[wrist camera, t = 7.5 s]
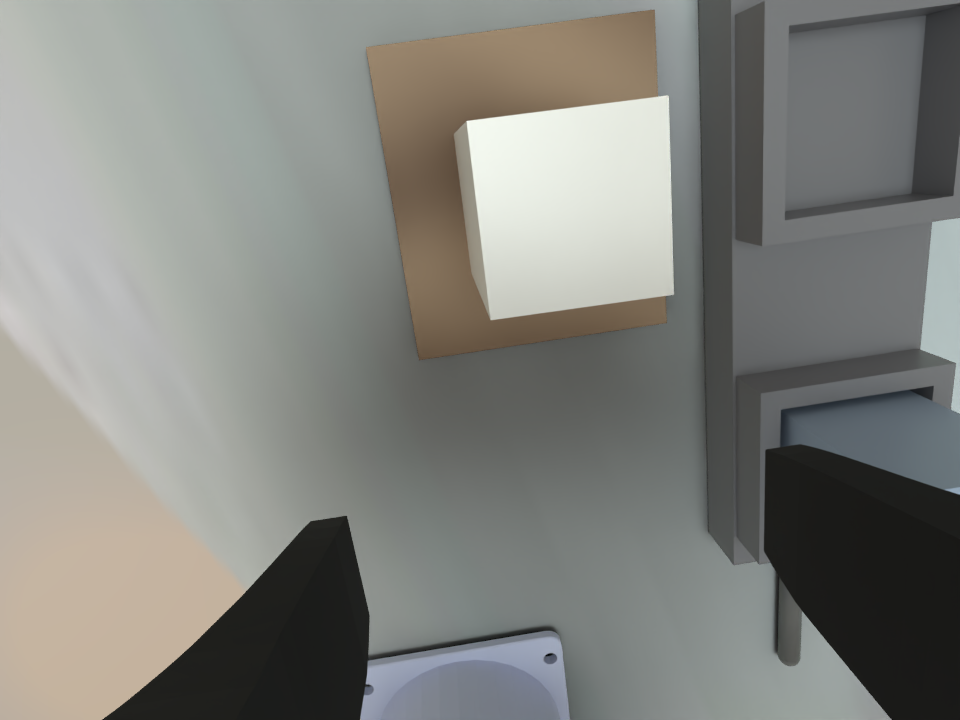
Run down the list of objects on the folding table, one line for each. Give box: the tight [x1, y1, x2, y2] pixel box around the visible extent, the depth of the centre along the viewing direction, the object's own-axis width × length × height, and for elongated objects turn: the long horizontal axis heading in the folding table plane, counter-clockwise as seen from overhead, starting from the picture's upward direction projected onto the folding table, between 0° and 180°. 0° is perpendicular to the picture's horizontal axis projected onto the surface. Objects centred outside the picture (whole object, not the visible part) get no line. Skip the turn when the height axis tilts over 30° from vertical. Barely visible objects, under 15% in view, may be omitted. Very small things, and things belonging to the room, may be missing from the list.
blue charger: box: [780, 390, 960, 495], centre depth 17 cm, size 4×4×6 cm
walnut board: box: [366, 10, 667, 360], centre depth 19 cm, size 9×8×1 cm
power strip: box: [698, 0, 960, 666], centre depth 20 cm, size 24×6×4 cm, turn 7°
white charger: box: [454, 95, 674, 320], centre depth 16 cm, size 4×4×6 cm
